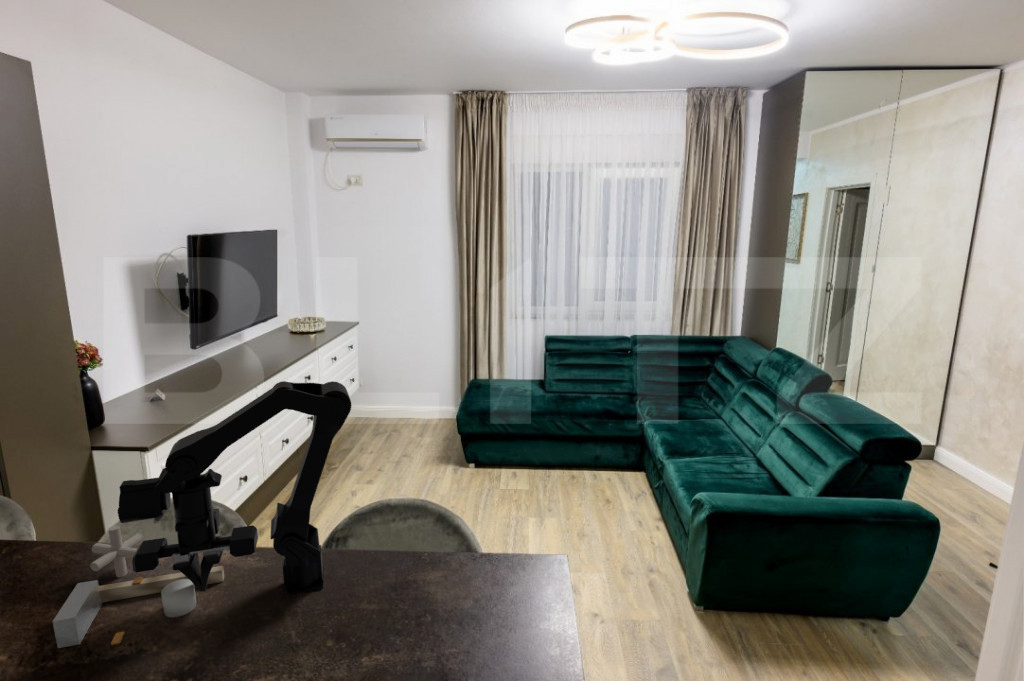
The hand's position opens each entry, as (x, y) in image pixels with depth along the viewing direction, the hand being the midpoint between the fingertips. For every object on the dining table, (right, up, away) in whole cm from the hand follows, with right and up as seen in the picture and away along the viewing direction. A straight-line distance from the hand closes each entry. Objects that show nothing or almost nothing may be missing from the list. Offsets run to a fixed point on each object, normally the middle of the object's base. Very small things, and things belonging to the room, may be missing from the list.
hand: (203, 590), depth 102 cm
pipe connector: (-20, -1, +9) cm, 22 cm away
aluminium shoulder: (-18, -4, -5) cm, 19 cm away
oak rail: (-10, -2, +4) cm, 11 cm away
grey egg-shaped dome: (-4, -3, -1) cm, 5 cm away
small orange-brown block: (-10, -4, -8) cm, 13 cm away
